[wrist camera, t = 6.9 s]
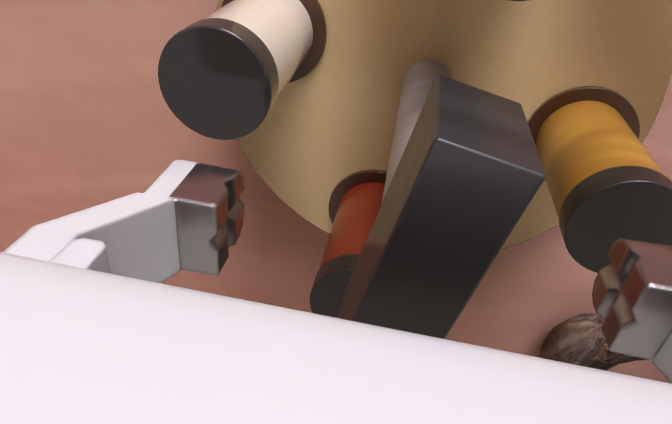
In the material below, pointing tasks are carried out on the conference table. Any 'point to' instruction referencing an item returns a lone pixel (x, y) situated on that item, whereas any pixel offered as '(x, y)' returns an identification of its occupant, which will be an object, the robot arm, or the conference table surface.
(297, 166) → the spice carousel
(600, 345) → the vintage desk clock
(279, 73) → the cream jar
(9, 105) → the conference table surface
